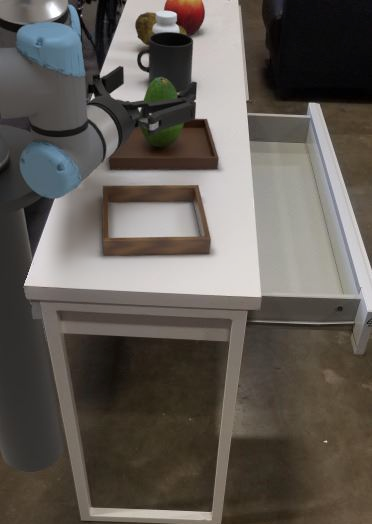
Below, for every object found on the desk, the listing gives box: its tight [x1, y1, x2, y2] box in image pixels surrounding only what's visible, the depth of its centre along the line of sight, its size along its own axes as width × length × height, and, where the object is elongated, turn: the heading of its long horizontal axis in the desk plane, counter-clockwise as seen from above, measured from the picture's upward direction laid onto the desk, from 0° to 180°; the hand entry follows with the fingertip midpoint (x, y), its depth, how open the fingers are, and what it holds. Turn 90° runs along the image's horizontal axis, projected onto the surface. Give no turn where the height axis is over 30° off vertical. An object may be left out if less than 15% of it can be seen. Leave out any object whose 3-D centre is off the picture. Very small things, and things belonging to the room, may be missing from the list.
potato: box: [134, 11, 187, 46], centre depth 141 cm, size 8×13×8 cm, turn 94°
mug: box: [136, 32, 194, 92], centre depth 126 cm, size 9×12×9 cm
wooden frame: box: [102, 184, 212, 256], centre depth 89 cm, size 16×16×2 cm
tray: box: [108, 118, 220, 170], centre depth 107 cm, size 19×16×2 cm
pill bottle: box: [152, 10, 180, 35], centre depth 132 cm, size 6×6×11 cm
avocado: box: [139, 77, 184, 148], centre depth 103 cm, size 8×8×12 cm
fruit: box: [163, 0, 206, 36], centre depth 150 cm, size 11×11×10 cm
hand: (157, 82), depth 98 cm, fingers open, 13 cm apart
